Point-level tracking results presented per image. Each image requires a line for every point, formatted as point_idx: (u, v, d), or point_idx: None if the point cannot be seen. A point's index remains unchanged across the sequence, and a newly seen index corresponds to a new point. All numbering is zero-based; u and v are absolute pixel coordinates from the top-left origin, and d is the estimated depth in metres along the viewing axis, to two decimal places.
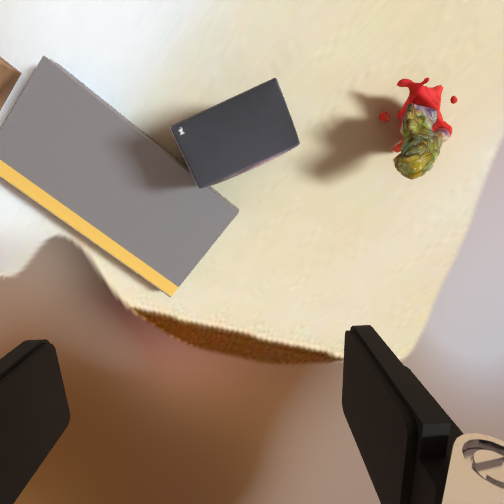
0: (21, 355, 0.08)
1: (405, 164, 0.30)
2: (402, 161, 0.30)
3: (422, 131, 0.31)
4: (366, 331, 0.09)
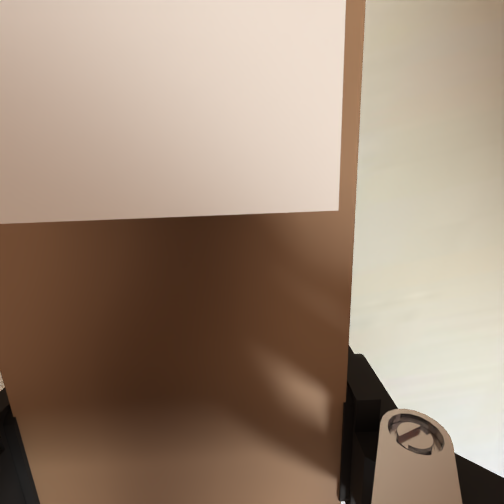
0: None
1: None
2: None
3: None
4: None
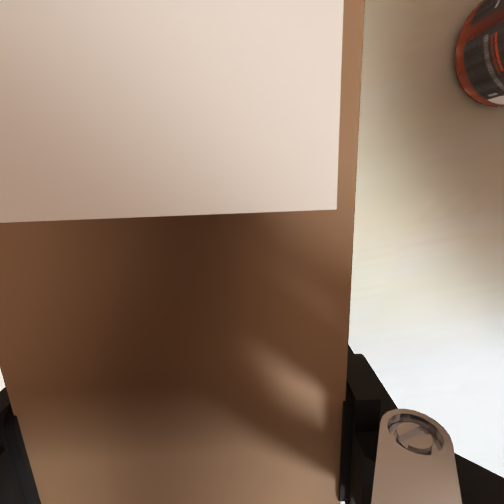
0: None
1: None
2: None
3: None
4: None
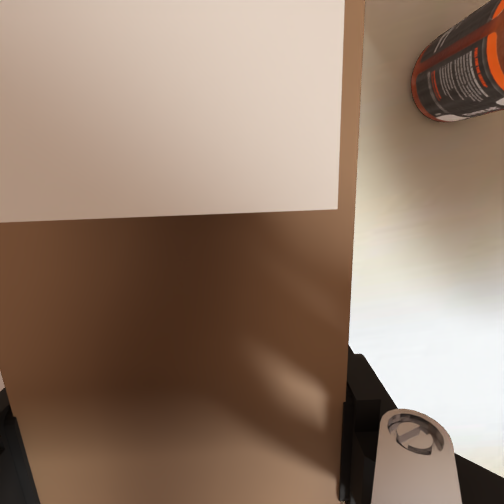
0: None
1: None
2: None
3: None
4: None
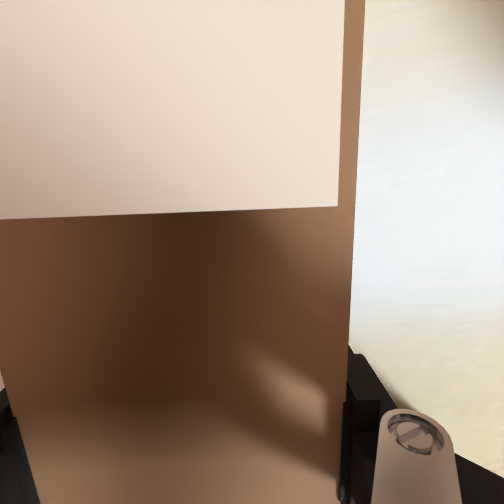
0: None
1: None
2: None
3: None
4: None
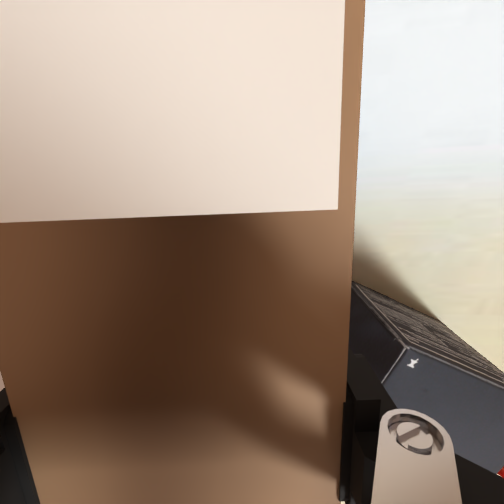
0: None
1: None
2: None
3: None
4: None
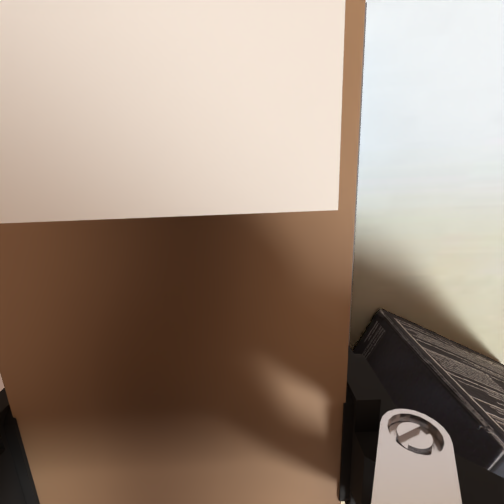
0: None
1: None
2: None
3: None
4: None
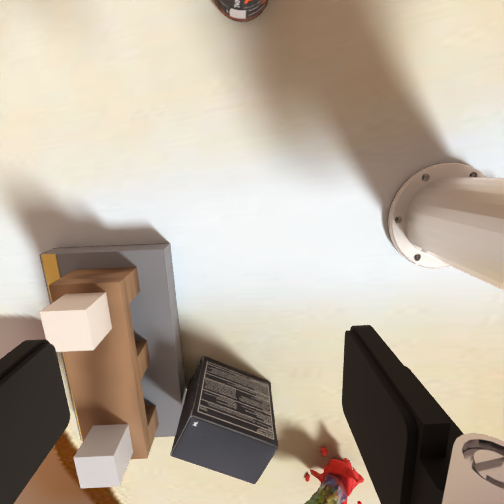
0: (21, 355, 0.08)
1: None
2: None
3: None
4: (366, 331, 0.09)
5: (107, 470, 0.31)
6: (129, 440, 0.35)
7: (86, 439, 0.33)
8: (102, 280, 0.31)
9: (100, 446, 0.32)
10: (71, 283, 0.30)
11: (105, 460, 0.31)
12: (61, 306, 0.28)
